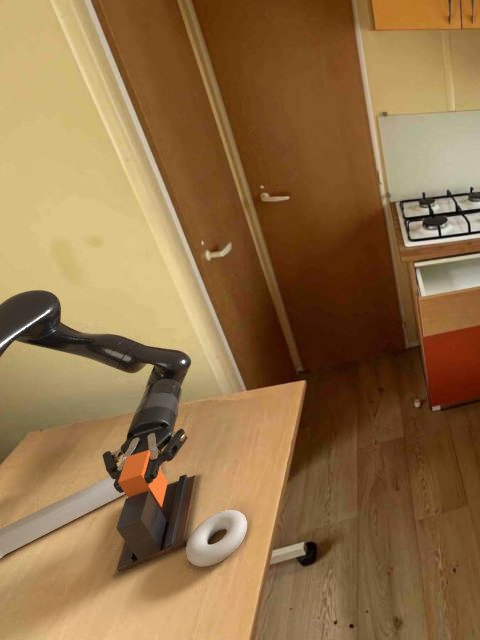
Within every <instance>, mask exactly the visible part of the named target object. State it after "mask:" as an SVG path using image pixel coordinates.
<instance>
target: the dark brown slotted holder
mask: <svg viewBox="0 0 480 640" xmlns="http://www.w3.org/2000/svg"><path fill="white" fill-rule="evenodd" d="M197 480H198V478H197V476H196V475H195V474H194V475H191V476H188V475H187V474H186V473H185V474H182V475H179V478H178V480H177V481H174V482H172V483H167V487H166V492H165V496H164V500H163V504H162V508H159V507H158V505H157V504H156V502H155V500H154V499H153V497H152V495H151V494H150V492H149V491H147V492H144V493H141V494H138V495H135V496H132V497H129V498H128V497H127V498H125V499H124V503H123V505H122V508H121V512H120V515H119V518H118V521H117V524H116V527H115V529H116V531H117V532H118V533H119V535H120V536H121V538H122V539H123V540H124V544H123V547H122V550H121V554H120V556H119V560H118V564H117V567H116V571H117V572H118V574H120V573H123V572H126V571H128V570H129V569H132V568H135V567H137V566H140V565H143V564H145V563H148V562H151V561H153V560H156V559H158V558H160V557H163V556H165V555H168V554H170V553H173V552H174V551H175V552H176V551H178V550H180V549H183V548H186V544H187V537H188V531H189V525H190V520H191V514H192V508H193V503H194V499H195V498H194V497H195V492H196V487H197Z"/></svg>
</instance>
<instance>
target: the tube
mask: <svg viewBox="0 0 480 640" xmlns="http://www.w3.org/2000/svg"><path fill="white" fill-rule="evenodd" d="M160 470H161V471H162V468H161V467H160ZM114 482H115V479H112V478H111V477H110V476H108V477H106V478H104V479H102V480H99V481H97V482H95V483H93V484H91V485H89V486H87V487H85V488H83V489H80V490H79V491H77V492H75V493H73V494H71V495H69V496H66V497H64V498H62V499H60V500H58V501H56V502H54V503H52V504H49V505H48V506H46V507H42V509H40V510H37V511H35V512H33V513H31V514H29V515H27V516H25V517H23V518H21V519H18V520H16V521H14V522H11V523H9V524H8V525H5V526H3V527H1V528H0V559H2V558H4V557H5V556H6V555H8V554H9V553H11V552H13V551H16V550H17V549H19V548H21V547H23V546H25V545H27V544H29V543H31V542H33V541H35V540H37V539H39V538H41V537H42V536H45V535H47V534H48V533H51V532H52V531H55V530H56V529H59V528H61V527H63V526H65V525H67V524H69V523H70V522H72V521H74V520H76V519H78V518H80V517H82V516H85V515H87V514H88V513H90V512H92V511H94V510H96V509H99V508H100V507H102V506H104V505H106V504H108V503H110V502H112V501H114V500H116V499H118V498H120V497H122V496H124V495H126V494H125V492H122V493H119V491H117V490H116V489H115V487H114V485H113V484H114Z"/></svg>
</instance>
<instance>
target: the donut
mask: <svg viewBox="0 0 480 640" xmlns="http://www.w3.org/2000/svg"><path fill="white" fill-rule="evenodd" d="M223 530H226V533H225V535H224V536H223V537H222V538H221V539H220V540H218V541H217V542H215V543H212V544H209V540H210V539H211V538H212V537H213V536H214V535H215V534H216V533H218V532H220V531H223ZM247 532H248V521H247V518H246V515H244V514H243V513H242V512H241V511H240V510H234V509H227V510H225V509H224V510H221V511H218V512H215V513H214V514H212V515H210V516H208V517H207V518H205V519H204V520H203V521H202V522H201V523H199V524H198V525H197V526H196V528H195V529H194V530H193V531H192V532H191V533H190V536H189V538H188V540H187V541H186V545H185V554H186V558H187V561H189V562H190V563H191V564H192V566H196V567H201V568H202V567H209V566H210V567H211V566H213V565H216V564H218V563H220V562H222V561H224V560H226V559H227V558H229V557H230V556H231V555H232V554H233V553H234V552H235V551H236V550H237V549H239V546H240V545H241V543H242V542H243V541H244V538H245V537H246V534H247Z"/></svg>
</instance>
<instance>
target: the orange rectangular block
mask: <svg viewBox="0 0 480 640" xmlns="http://www.w3.org/2000/svg"><path fill="white" fill-rule="evenodd" d="M150 453H151V452H150V451H149V450H147V451H144V452H141V453H137V454H134V455H131V456H128V457H127V458H126V461H125V464H124V467H123V469H122V472H121V475H120V478H119V481H118V483H119V485H120V486H121V488H122V489H123V491H124V492H125V494H124V495H125V496H126V497H127V498H129V497H132V496H135V495H138V494H141V493H144V492H147V491H149V492H150V494H151V495H152V497H153V499H154V500H155V502H156V504H157V505H158V507H159V508H162V504H163V500H164V496H165V492H166V487H167V485H168V484H169V483H168V482H169V481H168V480H167V478H166V476H165V475H164V473H163V471H162V469H161V470H160V468H161V467H160V468H159V471H158V476H157V477H156V478H155V479H154V480H153V482H152V483H149V484H147V482H146V480H145V479H144V474H145V471H146V468H147V464H148V462H149V461H151V459H150Z"/></svg>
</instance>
